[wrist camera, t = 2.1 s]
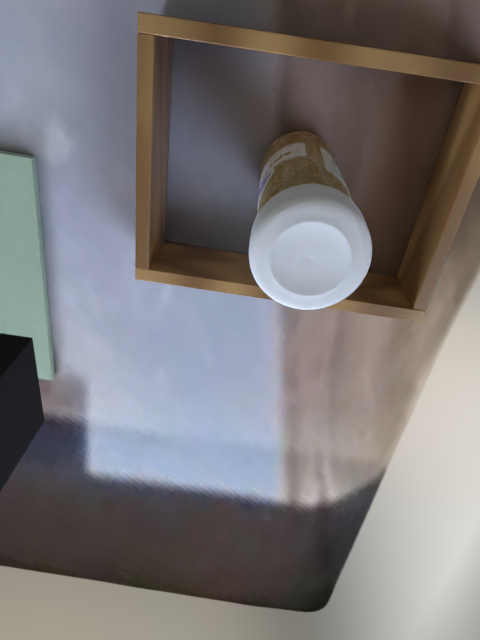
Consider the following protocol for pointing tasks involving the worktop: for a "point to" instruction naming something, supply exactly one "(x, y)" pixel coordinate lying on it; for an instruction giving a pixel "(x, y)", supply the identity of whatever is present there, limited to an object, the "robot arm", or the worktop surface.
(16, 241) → the mat
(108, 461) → the worktop surface
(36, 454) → the worktop surface
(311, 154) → the spice bottle
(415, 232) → the wooden tray
